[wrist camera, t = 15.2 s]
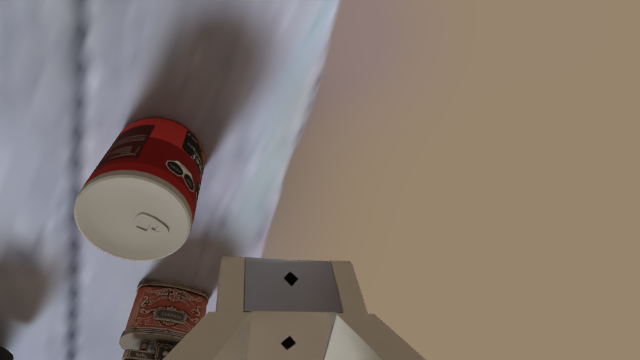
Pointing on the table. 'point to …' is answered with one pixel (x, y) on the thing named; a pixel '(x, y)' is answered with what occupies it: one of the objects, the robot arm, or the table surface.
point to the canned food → (143, 191)
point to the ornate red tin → (161, 318)
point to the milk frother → (5, 354)
